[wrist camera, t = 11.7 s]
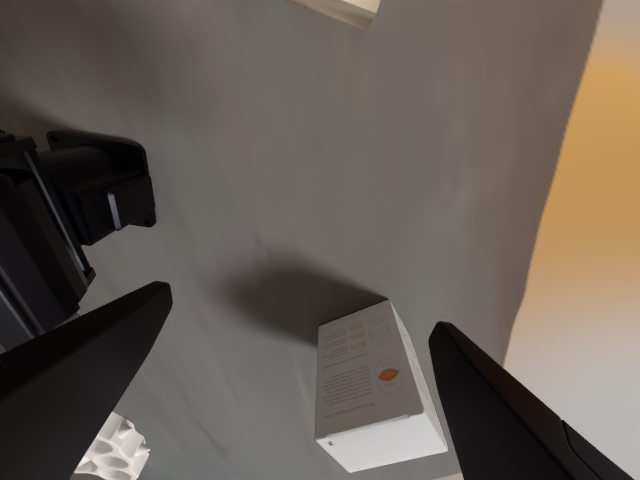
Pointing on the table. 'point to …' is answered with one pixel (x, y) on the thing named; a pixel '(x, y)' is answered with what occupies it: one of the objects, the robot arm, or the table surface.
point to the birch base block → (345, 10)
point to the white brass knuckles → (115, 451)
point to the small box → (372, 392)
